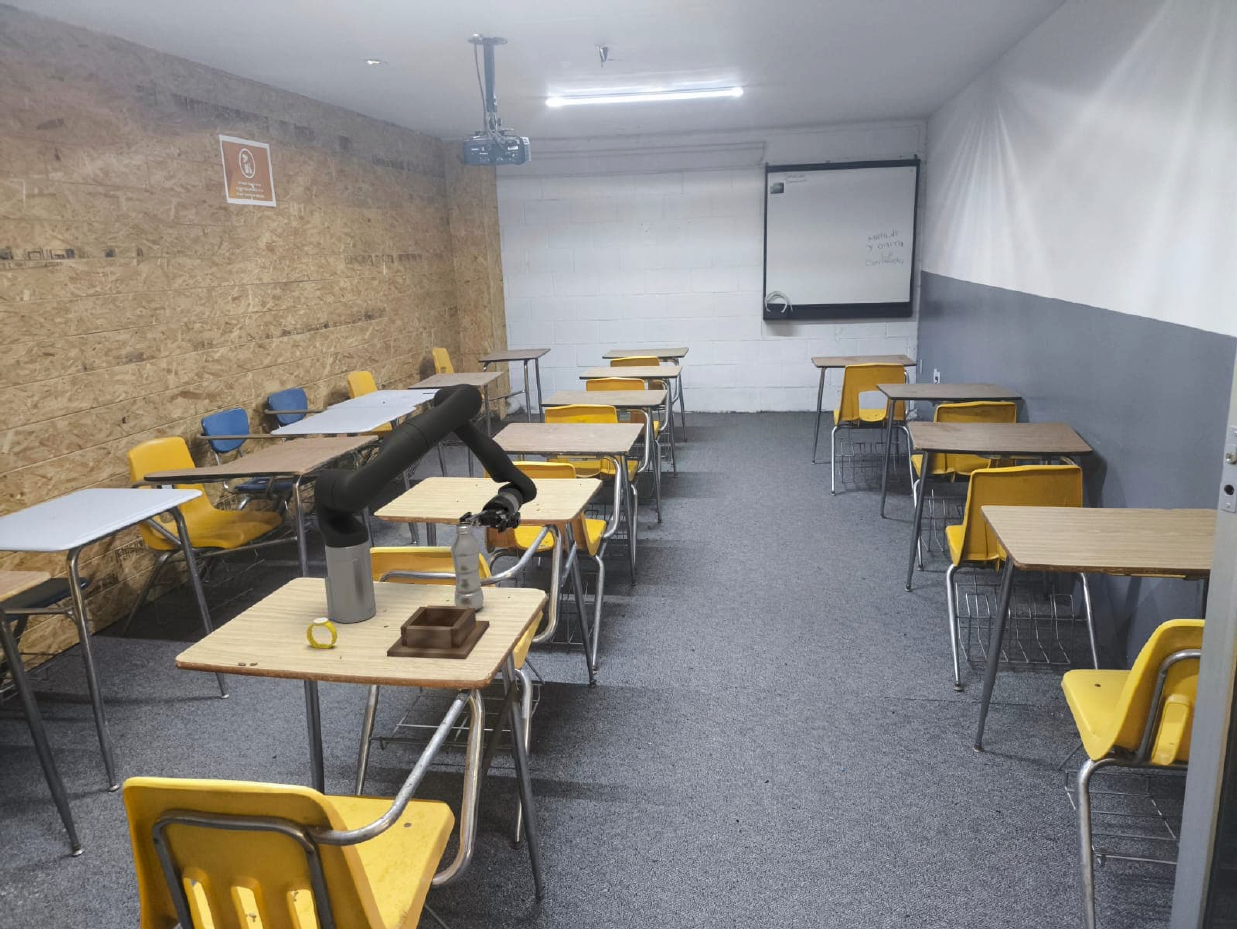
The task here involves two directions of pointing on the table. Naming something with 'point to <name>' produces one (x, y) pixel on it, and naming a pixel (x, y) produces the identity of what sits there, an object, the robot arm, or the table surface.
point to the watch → (320, 623)
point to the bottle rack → (439, 633)
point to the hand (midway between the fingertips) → (481, 529)
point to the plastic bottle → (467, 567)
